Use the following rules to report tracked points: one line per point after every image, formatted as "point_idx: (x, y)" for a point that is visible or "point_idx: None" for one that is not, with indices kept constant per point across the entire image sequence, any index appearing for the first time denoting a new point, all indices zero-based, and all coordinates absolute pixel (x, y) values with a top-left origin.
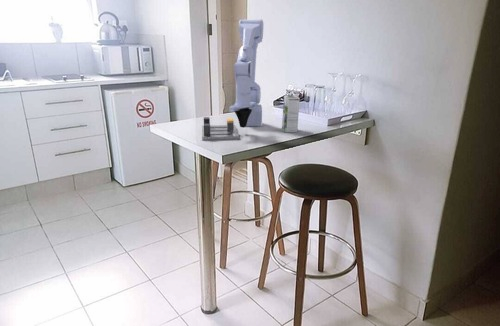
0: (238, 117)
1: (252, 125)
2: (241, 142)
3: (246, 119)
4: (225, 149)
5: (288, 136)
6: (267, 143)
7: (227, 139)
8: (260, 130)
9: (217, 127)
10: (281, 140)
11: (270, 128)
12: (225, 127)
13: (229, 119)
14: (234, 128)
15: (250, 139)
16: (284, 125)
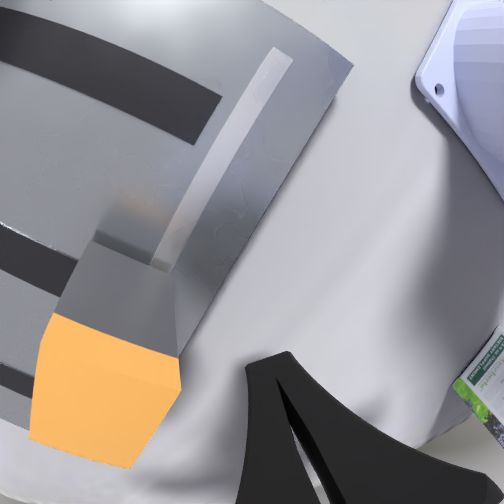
0: (249, 489)
1: (483, 166)
2: (113, 470)
3: (321, 481)
4: (14, 481)
5: (398, 439)
6: (235, 498)
7: None
8: (426, 306)
9: (28, 57)
10: None
11: (490, 286)
12: (130, 110)
13: (85, 399)
14: (223, 232)
15: (197, 457)
16: (472, 410)
